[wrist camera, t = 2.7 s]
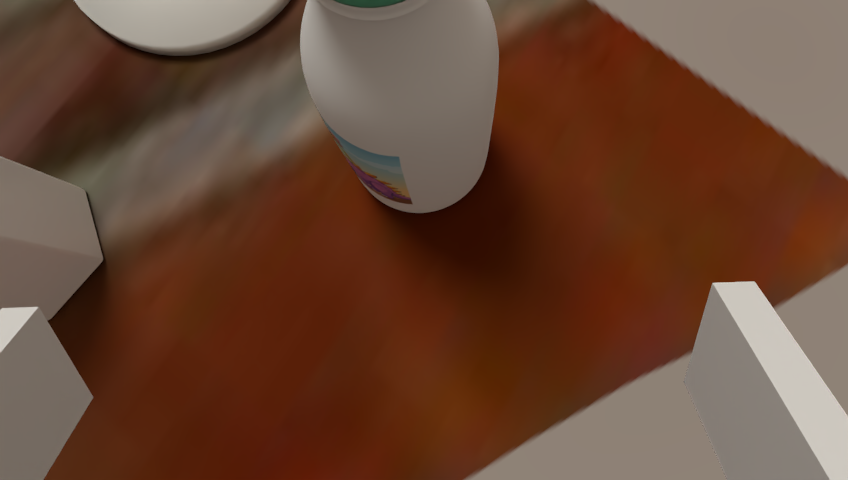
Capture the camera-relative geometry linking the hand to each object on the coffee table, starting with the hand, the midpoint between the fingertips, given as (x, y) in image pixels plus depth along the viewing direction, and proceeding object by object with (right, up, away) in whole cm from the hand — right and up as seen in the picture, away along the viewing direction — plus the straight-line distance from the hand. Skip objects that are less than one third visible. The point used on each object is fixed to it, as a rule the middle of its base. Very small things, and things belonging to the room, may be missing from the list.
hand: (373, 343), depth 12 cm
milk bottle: (+1, +7, +22) cm, 23 cm away
